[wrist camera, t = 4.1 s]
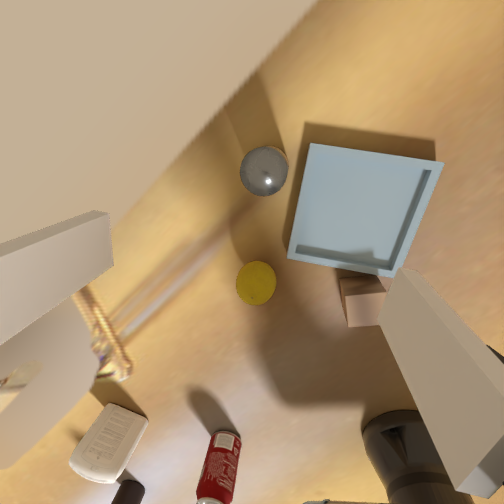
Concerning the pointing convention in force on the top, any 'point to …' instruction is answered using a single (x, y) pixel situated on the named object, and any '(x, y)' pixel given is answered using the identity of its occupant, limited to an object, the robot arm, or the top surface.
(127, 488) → the bottle
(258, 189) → the grey tin
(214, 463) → the soda can
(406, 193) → the dish
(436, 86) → the top surface
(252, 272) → the lemon
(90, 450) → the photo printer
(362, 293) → the walnut block
